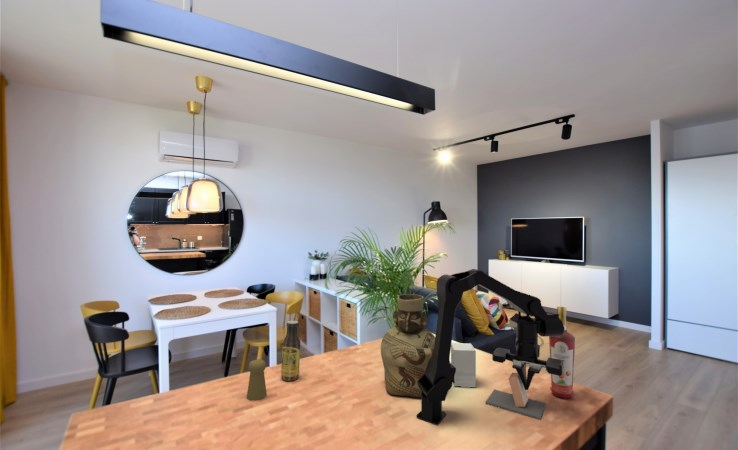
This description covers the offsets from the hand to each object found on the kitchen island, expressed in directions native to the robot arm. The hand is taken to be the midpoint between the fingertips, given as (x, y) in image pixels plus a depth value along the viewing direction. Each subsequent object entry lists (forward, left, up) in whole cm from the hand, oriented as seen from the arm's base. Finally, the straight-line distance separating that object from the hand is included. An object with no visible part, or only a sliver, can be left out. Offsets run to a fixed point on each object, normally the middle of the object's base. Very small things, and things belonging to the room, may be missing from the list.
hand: (526, 389), depth 101 cm
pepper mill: (-42, +71, -6) cm, 83 cm away
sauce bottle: (-27, +72, -6) cm, 77 cm away
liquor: (+15, -8, -6) cm, 18 cm away
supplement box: (+5, +21, -6) cm, 23 cm away
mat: (0, +3, -5) cm, 6 cm away
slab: (0, +1, -4) cm, 5 cm away
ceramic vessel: (-8, +35, -6) cm, 37 cm away
